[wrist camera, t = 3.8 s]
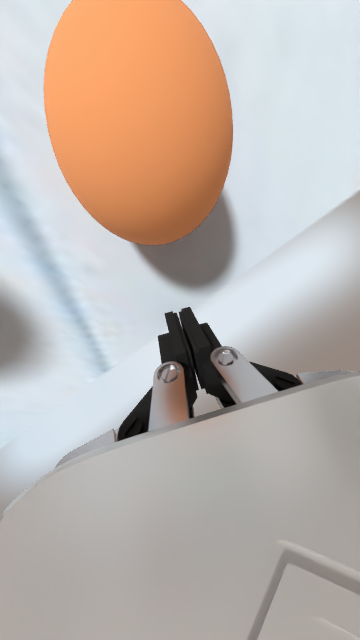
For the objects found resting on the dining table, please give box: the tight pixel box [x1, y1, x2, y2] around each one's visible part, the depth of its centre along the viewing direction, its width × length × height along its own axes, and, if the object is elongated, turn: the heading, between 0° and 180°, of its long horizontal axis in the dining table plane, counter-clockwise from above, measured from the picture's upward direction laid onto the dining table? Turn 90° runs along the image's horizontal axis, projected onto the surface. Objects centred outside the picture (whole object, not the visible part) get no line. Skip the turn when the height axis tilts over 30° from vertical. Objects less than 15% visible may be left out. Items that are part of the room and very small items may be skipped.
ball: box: [44, 0, 233, 245], centre depth 6 cm, size 6×6×6 cm
